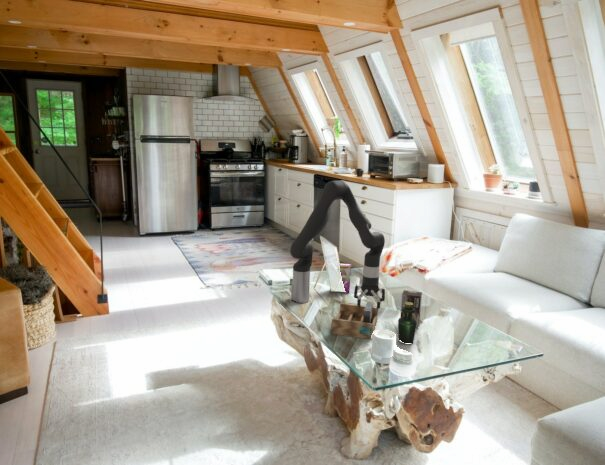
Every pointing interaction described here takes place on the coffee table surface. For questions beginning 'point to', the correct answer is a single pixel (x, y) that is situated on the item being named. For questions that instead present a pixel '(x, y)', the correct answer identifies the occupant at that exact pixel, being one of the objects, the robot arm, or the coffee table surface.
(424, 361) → the coffee table surface
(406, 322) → the potion bottle
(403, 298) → the coffee box
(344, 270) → the candy bar box
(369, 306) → the panel
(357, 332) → the rack
